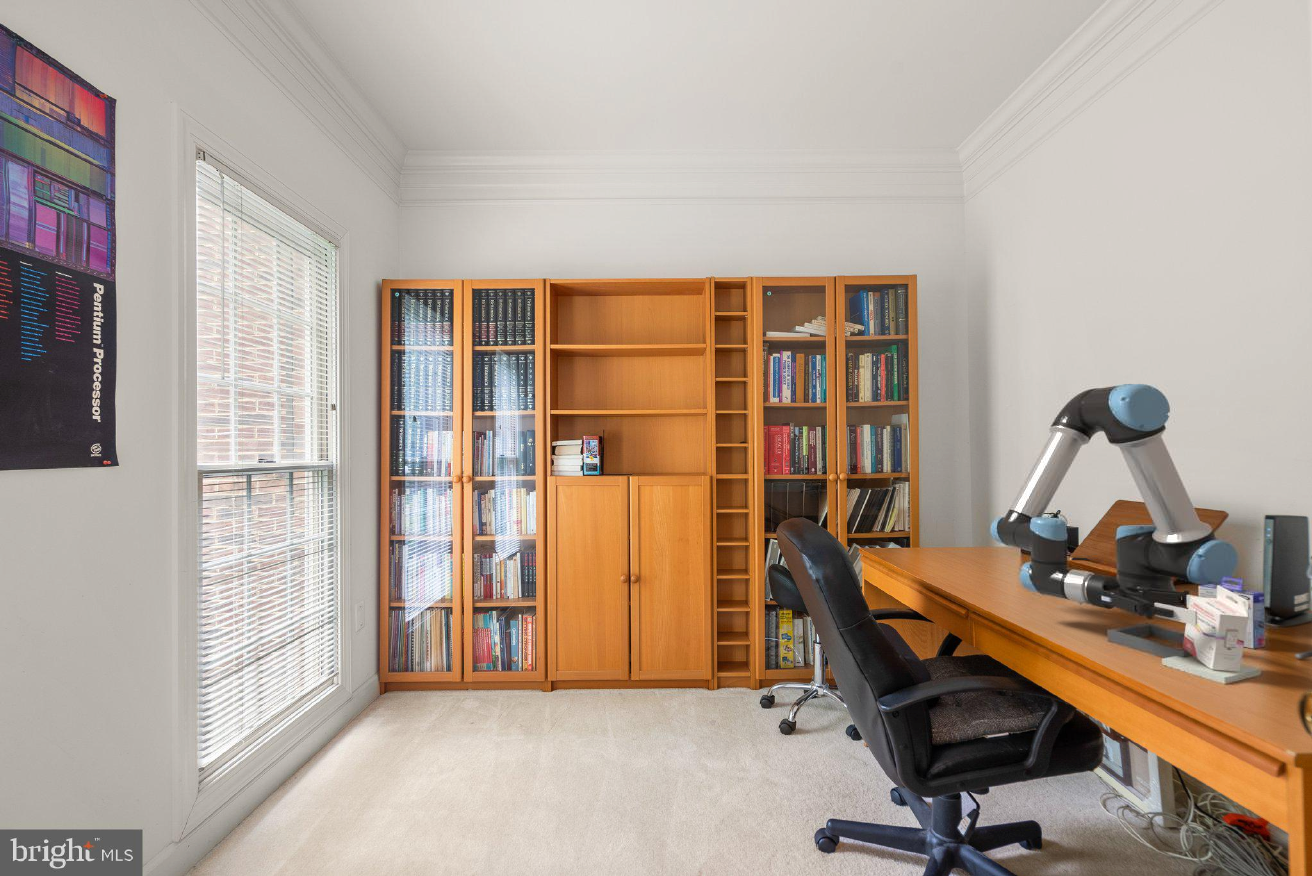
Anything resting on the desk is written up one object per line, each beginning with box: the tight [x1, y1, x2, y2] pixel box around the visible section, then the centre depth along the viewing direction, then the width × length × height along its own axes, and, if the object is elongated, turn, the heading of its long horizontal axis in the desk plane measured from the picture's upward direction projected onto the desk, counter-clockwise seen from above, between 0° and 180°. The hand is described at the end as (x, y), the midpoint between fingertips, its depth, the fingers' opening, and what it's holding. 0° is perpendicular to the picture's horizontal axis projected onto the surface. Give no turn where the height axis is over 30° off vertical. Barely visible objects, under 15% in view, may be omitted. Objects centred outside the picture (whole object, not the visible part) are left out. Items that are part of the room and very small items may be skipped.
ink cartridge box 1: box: [1181, 584, 1249, 672], centre depth 112 cm, size 9×5×15 cm, turn 168°
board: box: [1161, 656, 1262, 685], centre depth 113 cm, size 12×10×1 cm
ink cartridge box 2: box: [1197, 577, 1266, 650], centre depth 129 cm, size 10×6×14 cm, turn 23°
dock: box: [1106, 622, 1193, 659], centre depth 125 cm, size 14×14×2 cm
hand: (1212, 613), depth 112 cm, fingers open, 13 cm apart
